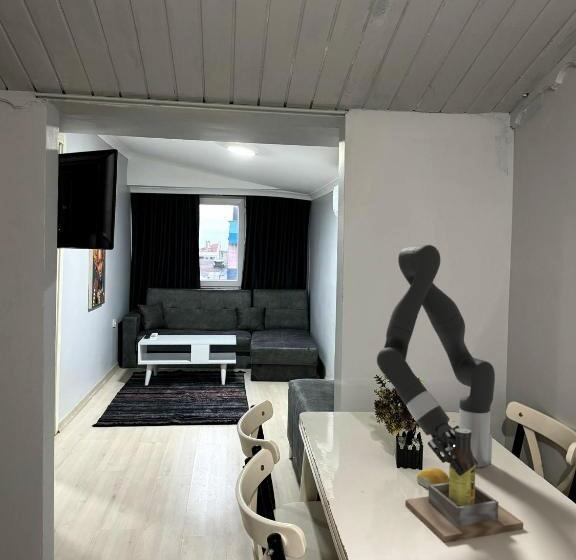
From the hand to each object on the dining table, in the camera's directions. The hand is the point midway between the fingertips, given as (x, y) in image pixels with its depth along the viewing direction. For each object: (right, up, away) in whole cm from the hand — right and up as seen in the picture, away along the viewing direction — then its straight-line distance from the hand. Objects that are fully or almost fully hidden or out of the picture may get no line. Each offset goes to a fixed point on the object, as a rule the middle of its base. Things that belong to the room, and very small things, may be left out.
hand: (469, 469), depth 128 cm
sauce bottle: (-1, -10, +2) cm, 11 cm away
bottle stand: (-1, -13, +2) cm, 13 cm away
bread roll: (-3, -12, +21) cm, 24 cm away
